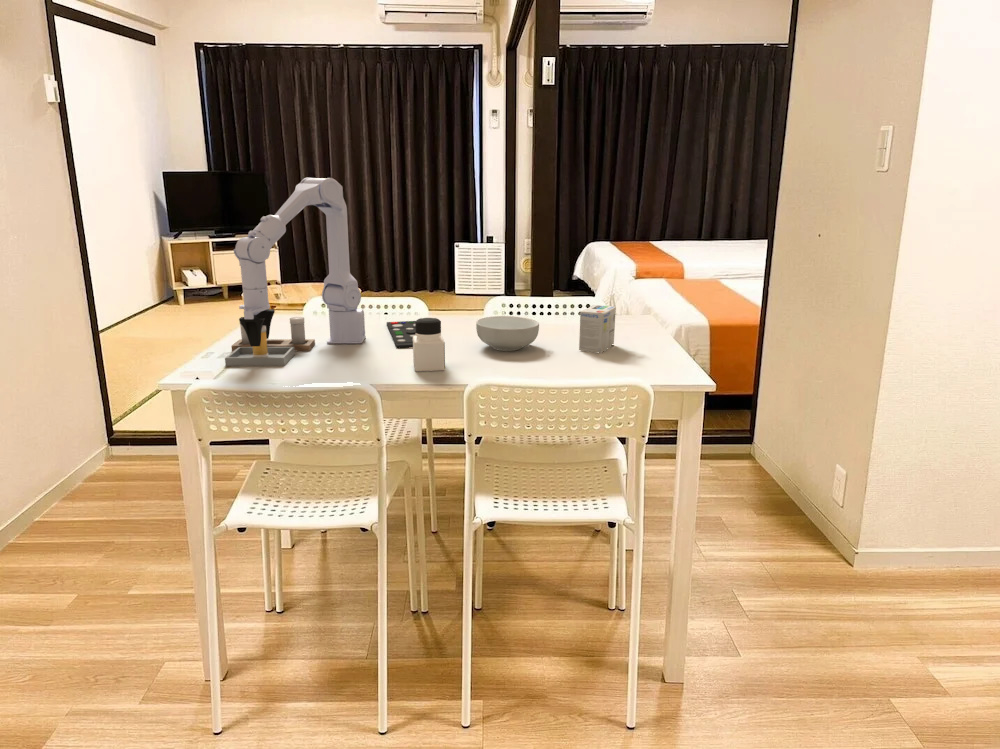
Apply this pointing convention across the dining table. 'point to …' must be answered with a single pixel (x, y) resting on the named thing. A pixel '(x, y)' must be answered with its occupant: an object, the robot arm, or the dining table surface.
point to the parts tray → (245, 357)
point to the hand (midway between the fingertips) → (259, 342)
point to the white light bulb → (244, 336)
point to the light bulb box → (597, 328)
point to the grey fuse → (297, 330)
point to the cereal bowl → (507, 332)
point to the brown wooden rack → (281, 344)
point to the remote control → (402, 333)
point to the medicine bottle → (428, 345)
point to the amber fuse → (261, 345)
